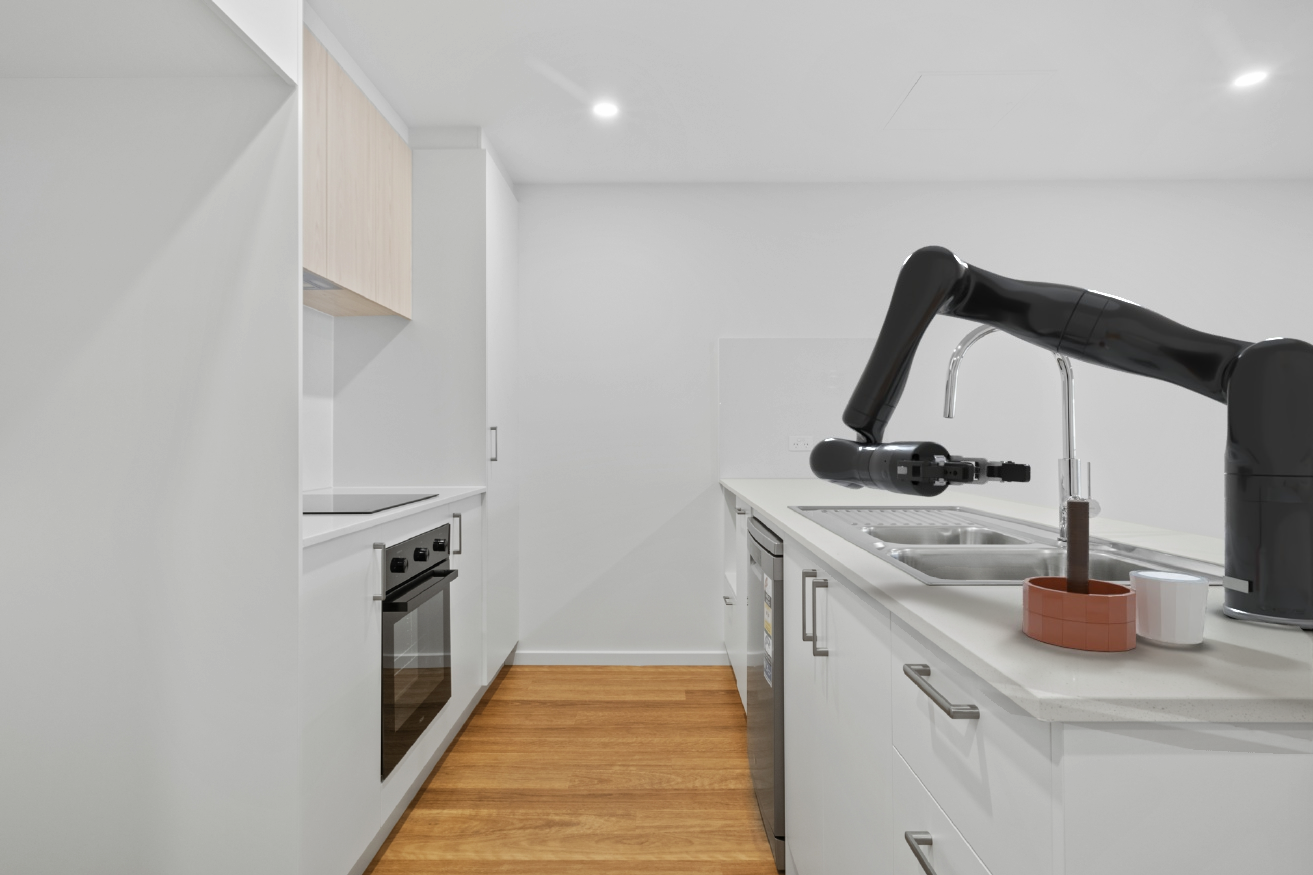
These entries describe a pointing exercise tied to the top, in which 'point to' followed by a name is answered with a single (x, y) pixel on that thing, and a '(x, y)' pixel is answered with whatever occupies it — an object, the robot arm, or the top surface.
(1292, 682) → the top surface
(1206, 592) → the white cylinder
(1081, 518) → the brown wooden pestle
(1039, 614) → the bowl
